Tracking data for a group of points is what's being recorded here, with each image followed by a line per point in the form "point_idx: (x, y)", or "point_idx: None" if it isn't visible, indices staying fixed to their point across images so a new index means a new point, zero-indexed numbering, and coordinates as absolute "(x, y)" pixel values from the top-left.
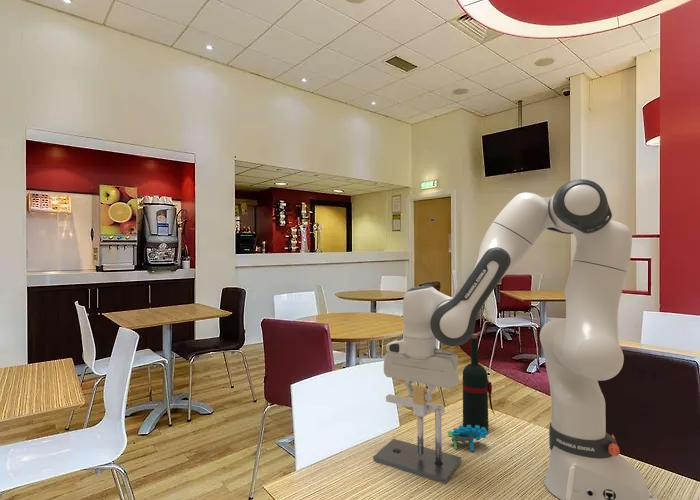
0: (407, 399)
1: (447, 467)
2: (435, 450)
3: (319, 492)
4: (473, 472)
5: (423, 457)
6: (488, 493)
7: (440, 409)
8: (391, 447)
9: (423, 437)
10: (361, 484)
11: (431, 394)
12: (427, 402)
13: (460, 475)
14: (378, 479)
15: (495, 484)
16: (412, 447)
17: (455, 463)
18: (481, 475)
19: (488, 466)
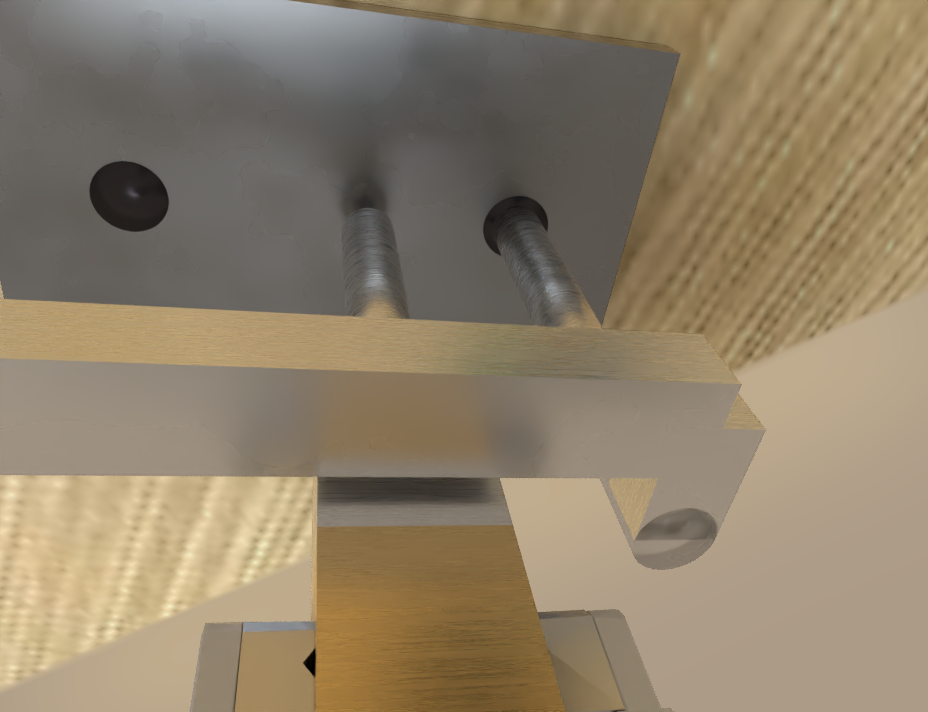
0: (79, 425)
1: (584, 254)
2: (515, 286)
3: (3, 675)
4: (747, 160)
5: (385, 199)
6: (803, 335)
7: (706, 521)
8: (49, 161)
9: (406, 296)
10: (142, 555)
11: (646, 692)
12: (479, 387)
13: (659, 235)
14: (198, 486)
15: (862, 235)
16: (229, 70)
17: (637, 175)
18: (795, 173)
19: (870, 19)
